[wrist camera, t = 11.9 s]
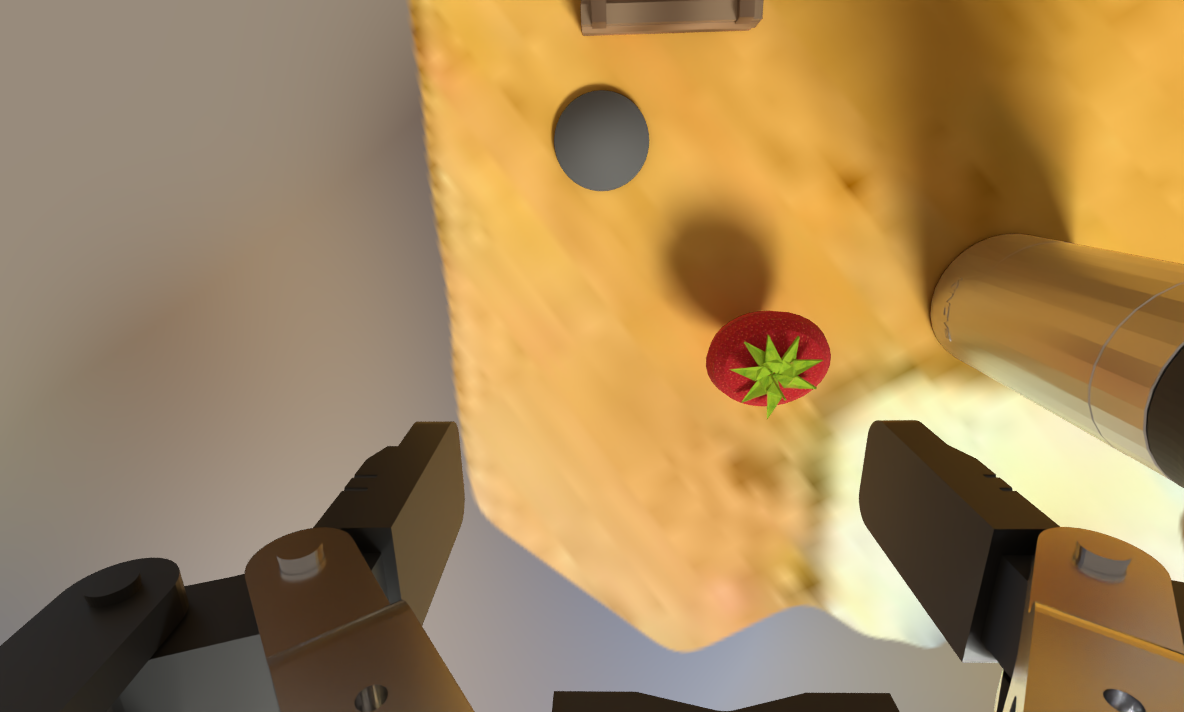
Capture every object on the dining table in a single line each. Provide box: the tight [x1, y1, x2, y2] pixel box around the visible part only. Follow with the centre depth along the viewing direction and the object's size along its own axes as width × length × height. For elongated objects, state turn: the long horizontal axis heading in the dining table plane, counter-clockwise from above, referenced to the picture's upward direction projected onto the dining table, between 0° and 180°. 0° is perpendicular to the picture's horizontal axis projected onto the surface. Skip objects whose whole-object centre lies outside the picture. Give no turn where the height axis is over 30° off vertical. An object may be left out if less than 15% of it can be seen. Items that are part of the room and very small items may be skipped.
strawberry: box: [706, 311, 831, 419], centre depth 37 cm, size 6×8×10 cm
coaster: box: [554, 90, 649, 191], centre depth 38 cm, size 6×6×1 cm
